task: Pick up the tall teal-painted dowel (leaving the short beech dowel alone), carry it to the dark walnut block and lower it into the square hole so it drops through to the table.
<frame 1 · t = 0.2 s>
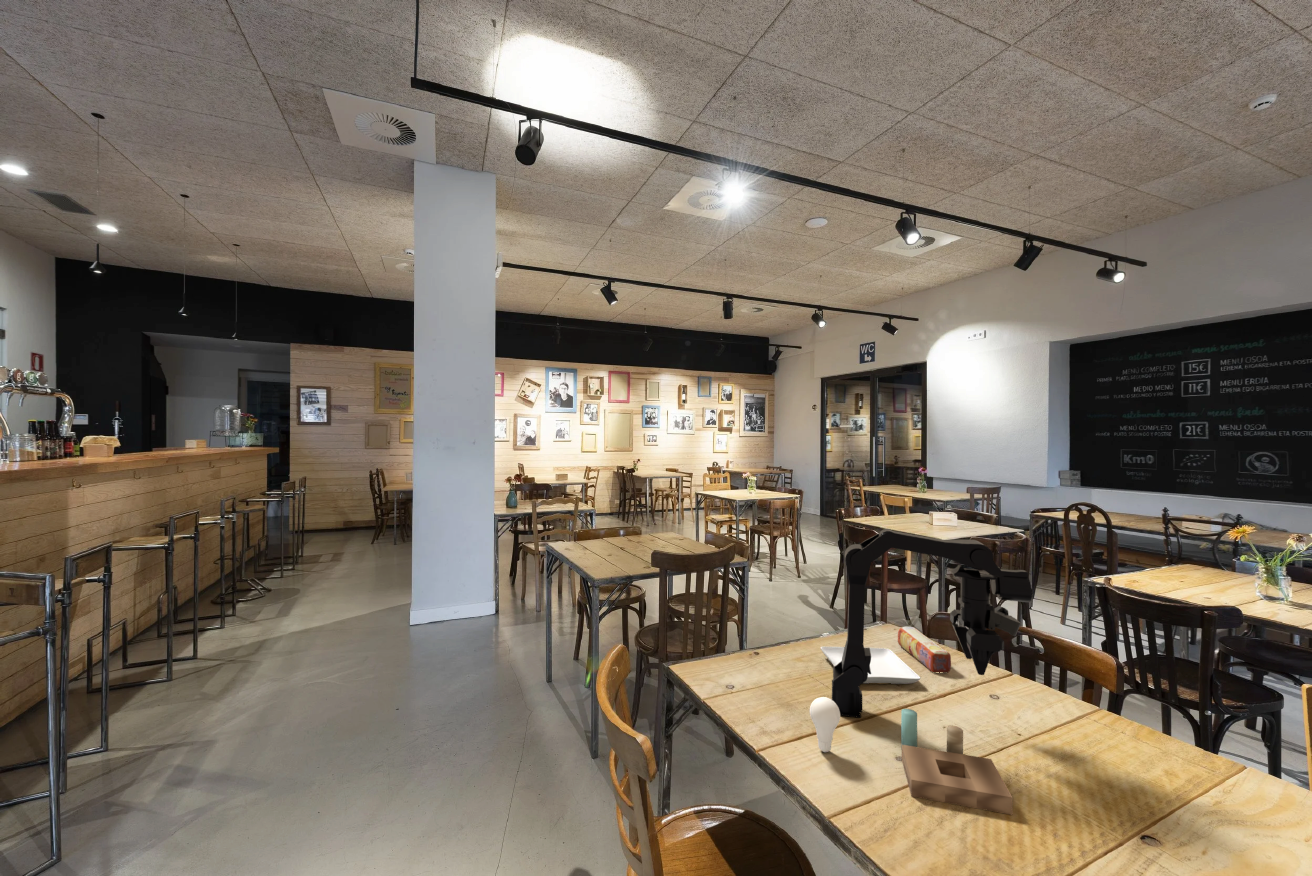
hand: (974, 666, 120), 14 cm above the table, tool pointing down, fingers open, 9 cm apart
short beech pin: (954, 753, 111), on the table
snack package: (923, 660, 160), on the table
long teal pin: (909, 750, 111), on the table
lightbulb: (824, 752, 111), on the table
walnut hole block: (952, 784, 100), on the table
salad plate: (867, 673, 151), on the table
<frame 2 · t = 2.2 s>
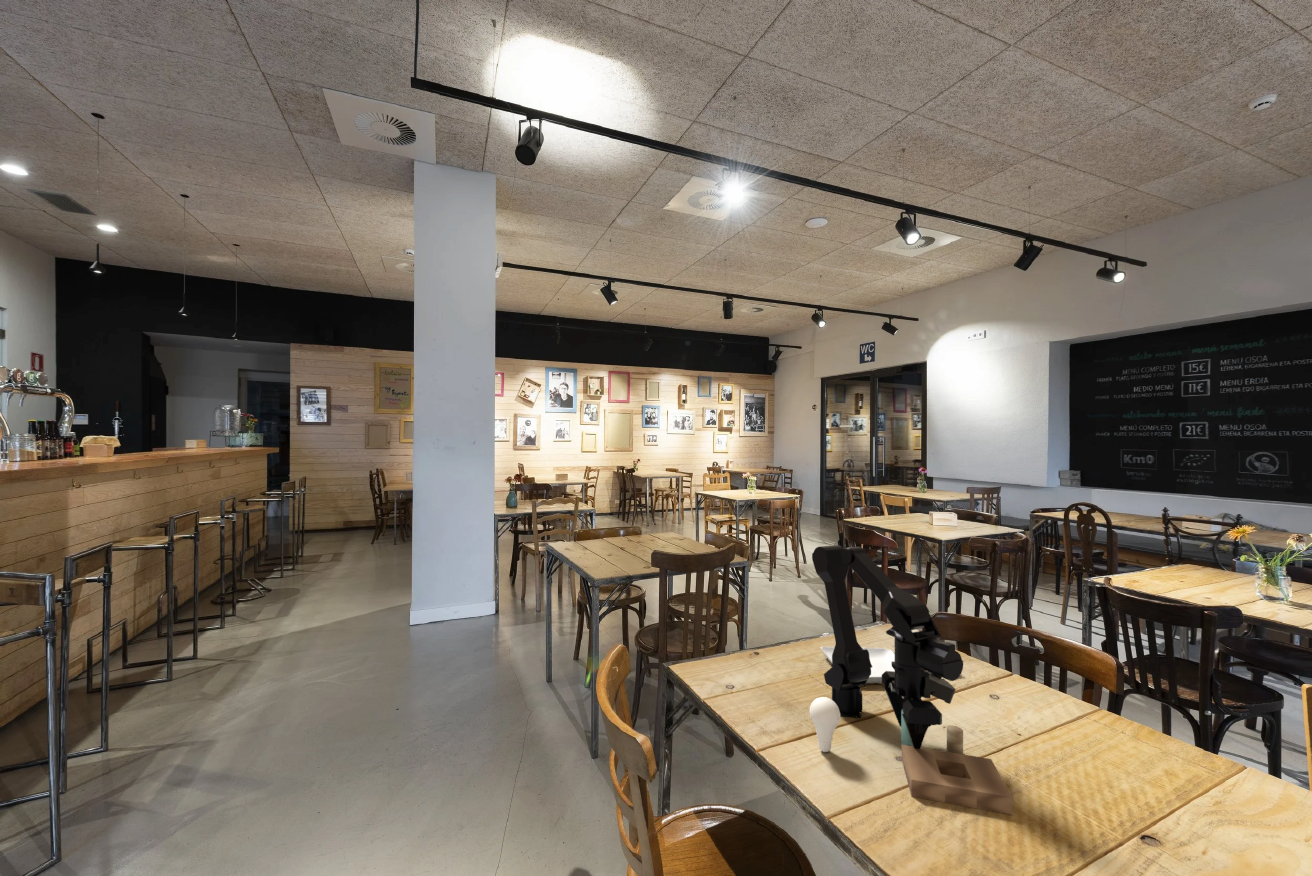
hand: (909, 737, 111), 3 cm above the table, tool pointing down, fingers open, 8 cm apart
nothing on the table moved.
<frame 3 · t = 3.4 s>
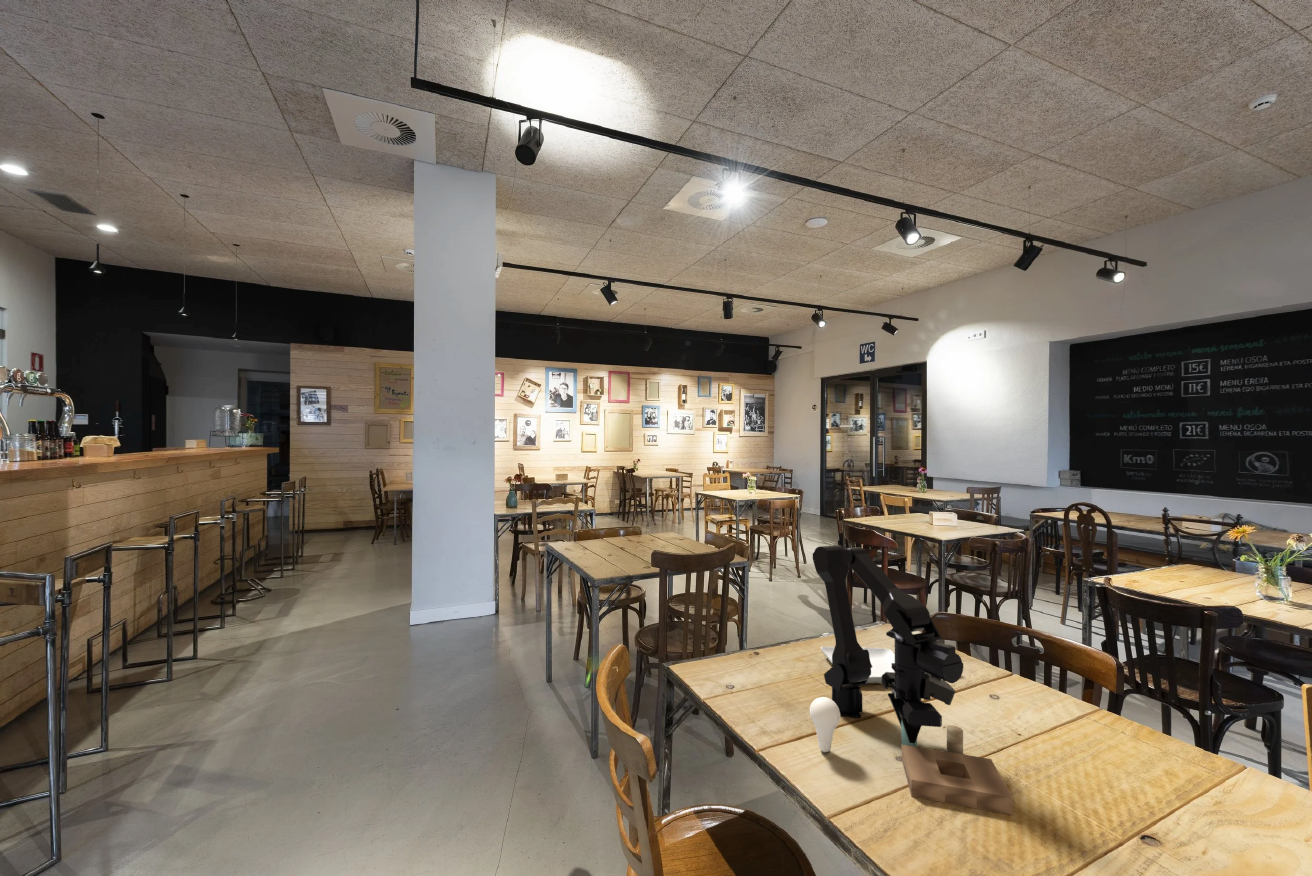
hand: (909, 738, 111), 3 cm above the table, tool pointing down, fingers closed on long teal pin, 3 cm apart
long teal pin: (909, 750, 111), on the table, touching gripper
everything else where it was.
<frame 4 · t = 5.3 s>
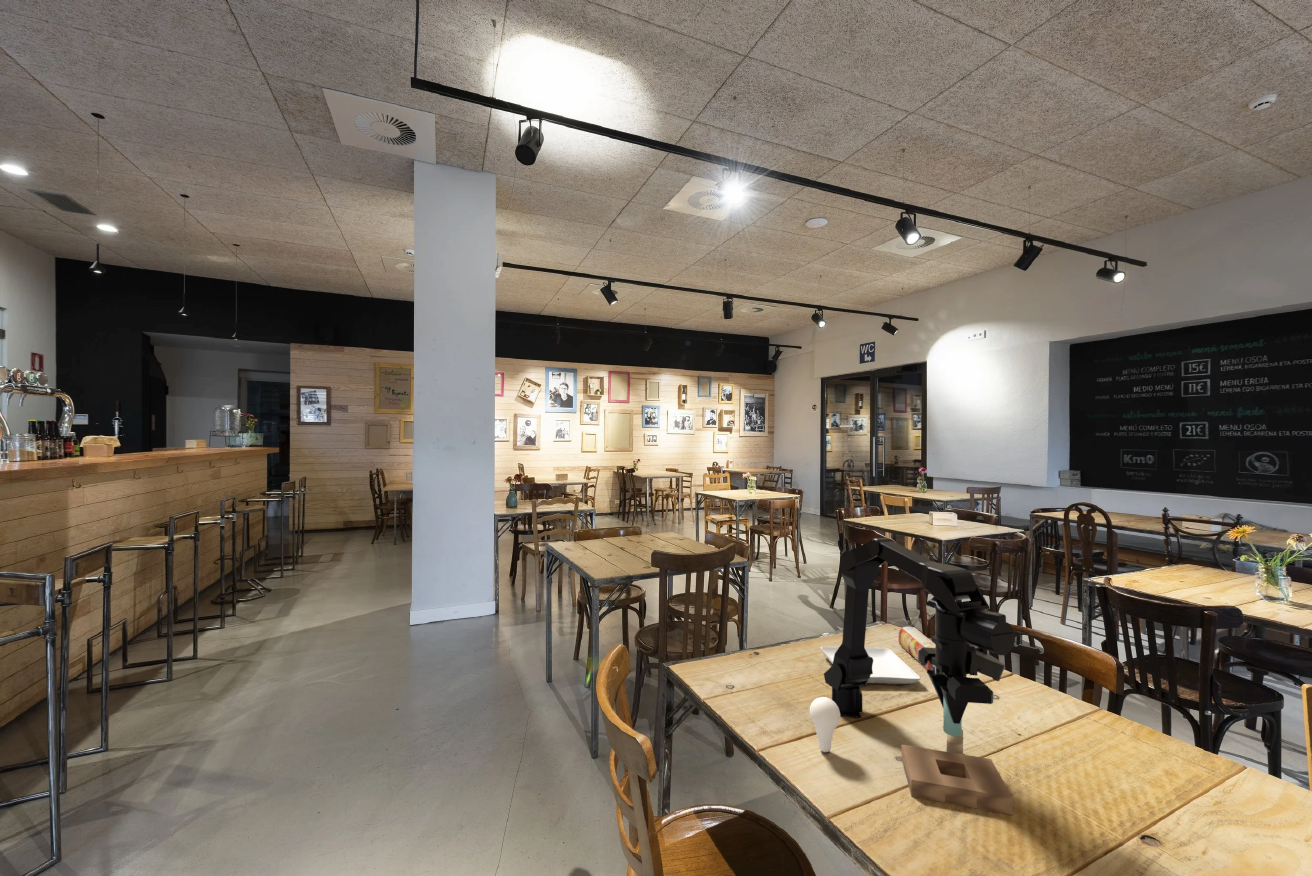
hand: (952, 718, 100), 12 cm above the table, tool pointing down, fingers closed on long teal pin, 3 cm apart
long teal pin: (952, 732, 100), point 10 cm above the table, touching gripper
everything else where it was.
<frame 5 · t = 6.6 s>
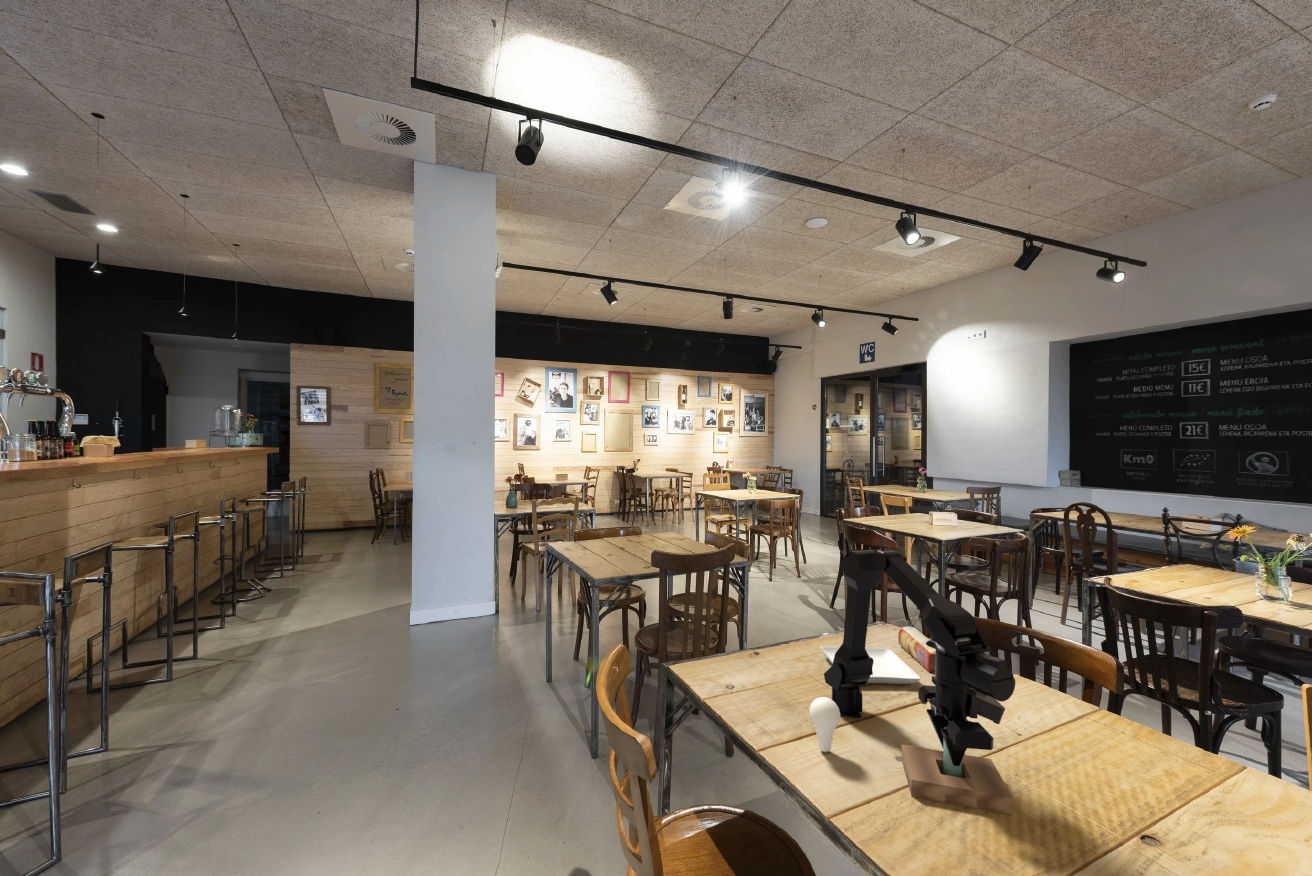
hand: (952, 760, 100), 5 cm above the table, tool pointing down, fingers closed on long teal pin, 3 cm apart
long teal pin: (952, 773, 100), point 2 cm above the table, touching gripper
everything else where it was.
when the fingers open (4 cm above the table, at t = 7.4 s): long teal pin drops 1 cm, resting in walnut hole block.
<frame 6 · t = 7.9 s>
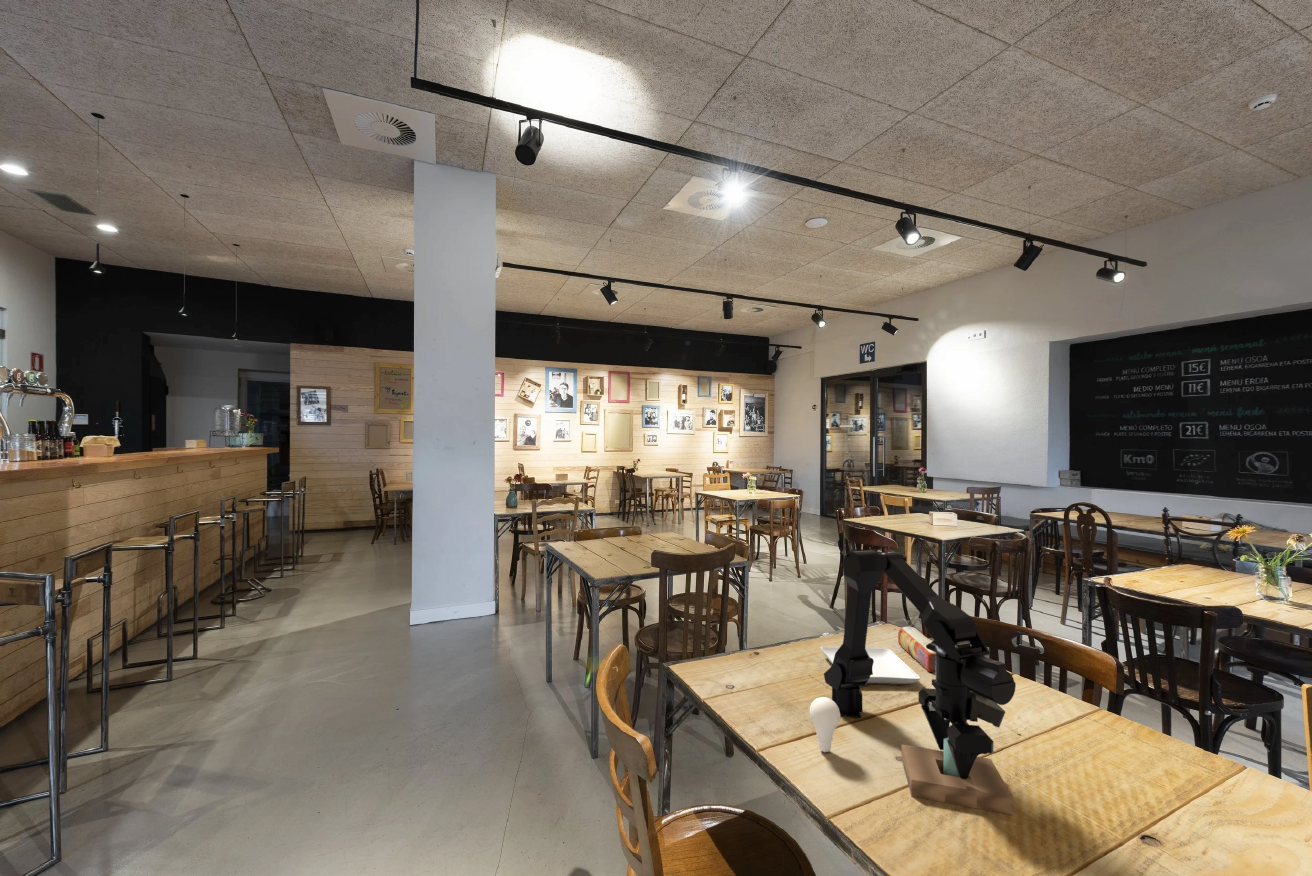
hand: (952, 763, 100), 4 cm above the table, tool pointing down, fingers open, 9 cm apart
long teal pin: (952, 784, 100), resting in walnut hole block
everything else where it was.
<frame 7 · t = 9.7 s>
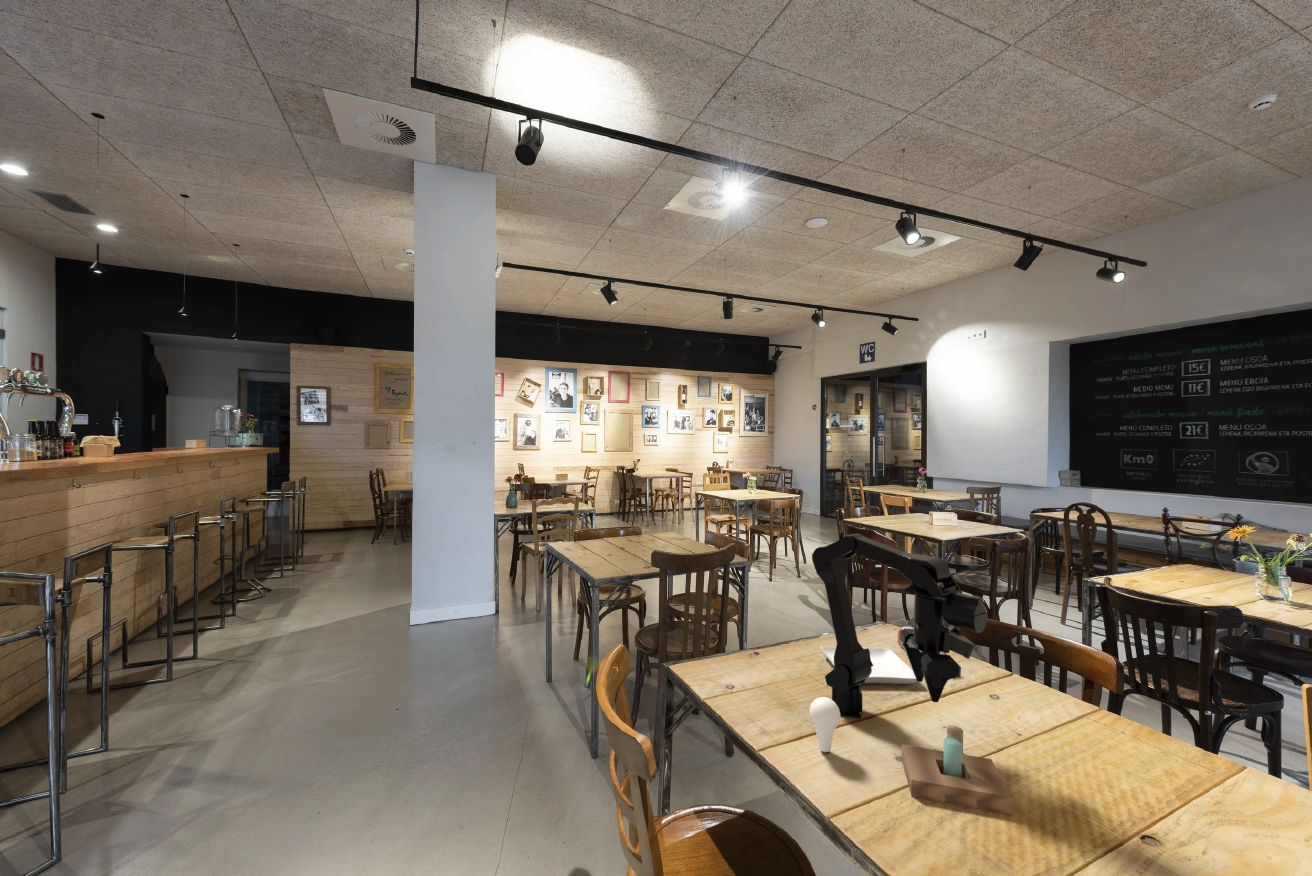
hand: (926, 691, 112), 12 cm above the table, tool pointing down, fingers open, 9 cm apart
nothing on the table moved.
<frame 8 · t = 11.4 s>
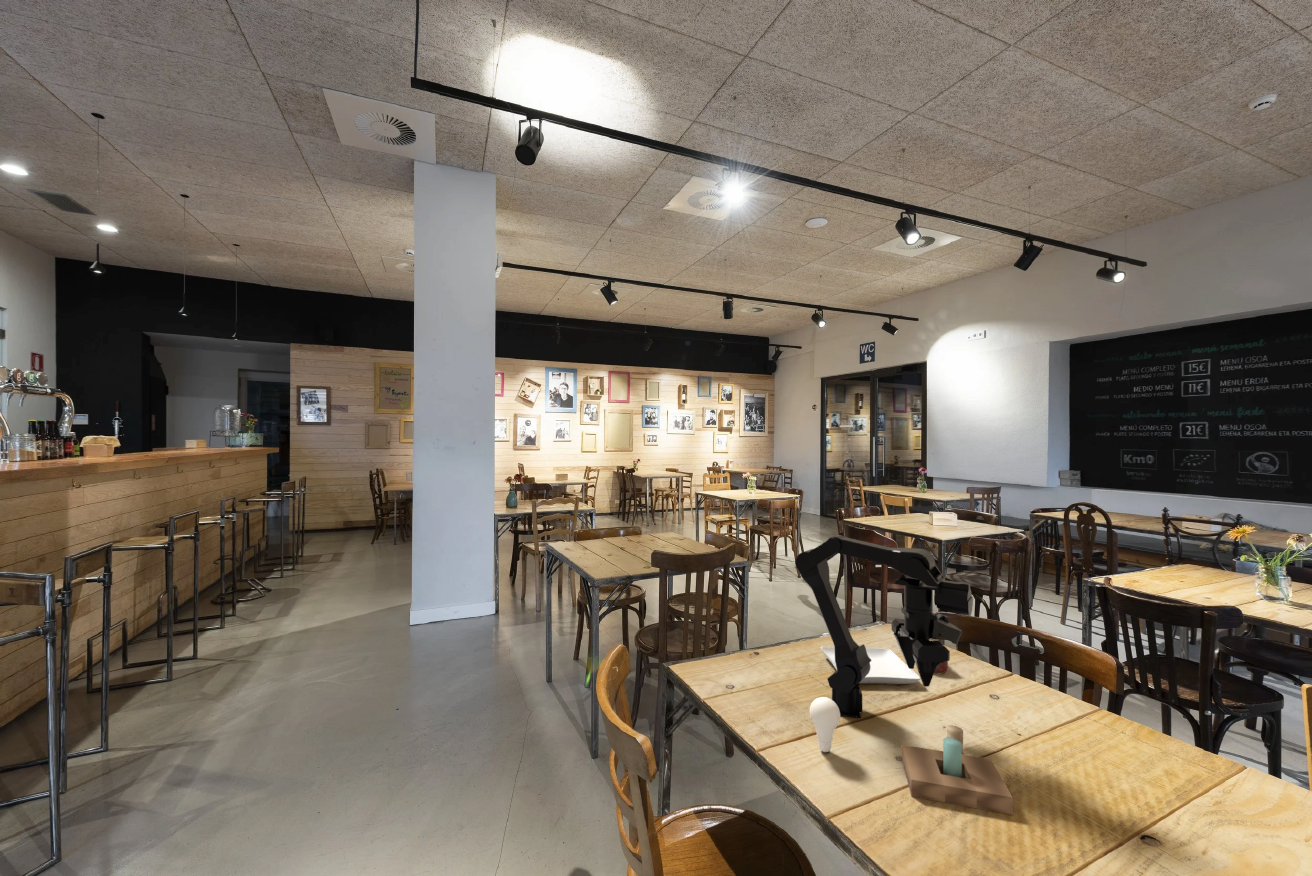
hand: (918, 676, 118), 13 cm above the table, tool pointing down, fingers open, 9 cm apart
nothing on the table moved.
at the end: long teal pin 0.0 cm off-centre on the walnut hole block, point 0.0 cm above the walnut hole block's base; long teal pin tilted 0°; short beech pin moved 0.0 cm from its start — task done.
